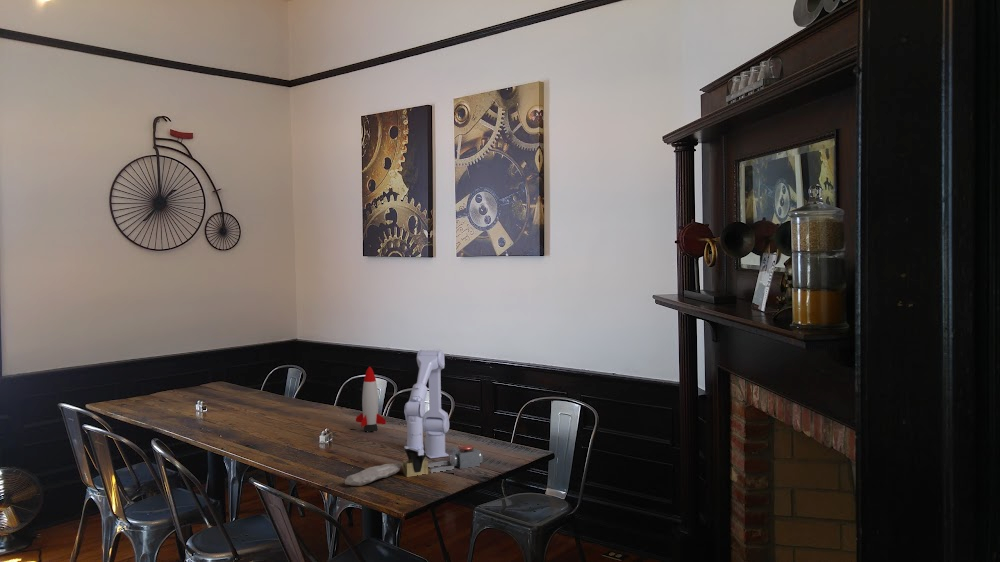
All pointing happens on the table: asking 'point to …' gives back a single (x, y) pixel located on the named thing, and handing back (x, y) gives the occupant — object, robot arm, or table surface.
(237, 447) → the table surface
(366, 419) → the toy rocket
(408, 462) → the gold flanged block
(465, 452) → the valve
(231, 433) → the table surface
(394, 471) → the stone tool
